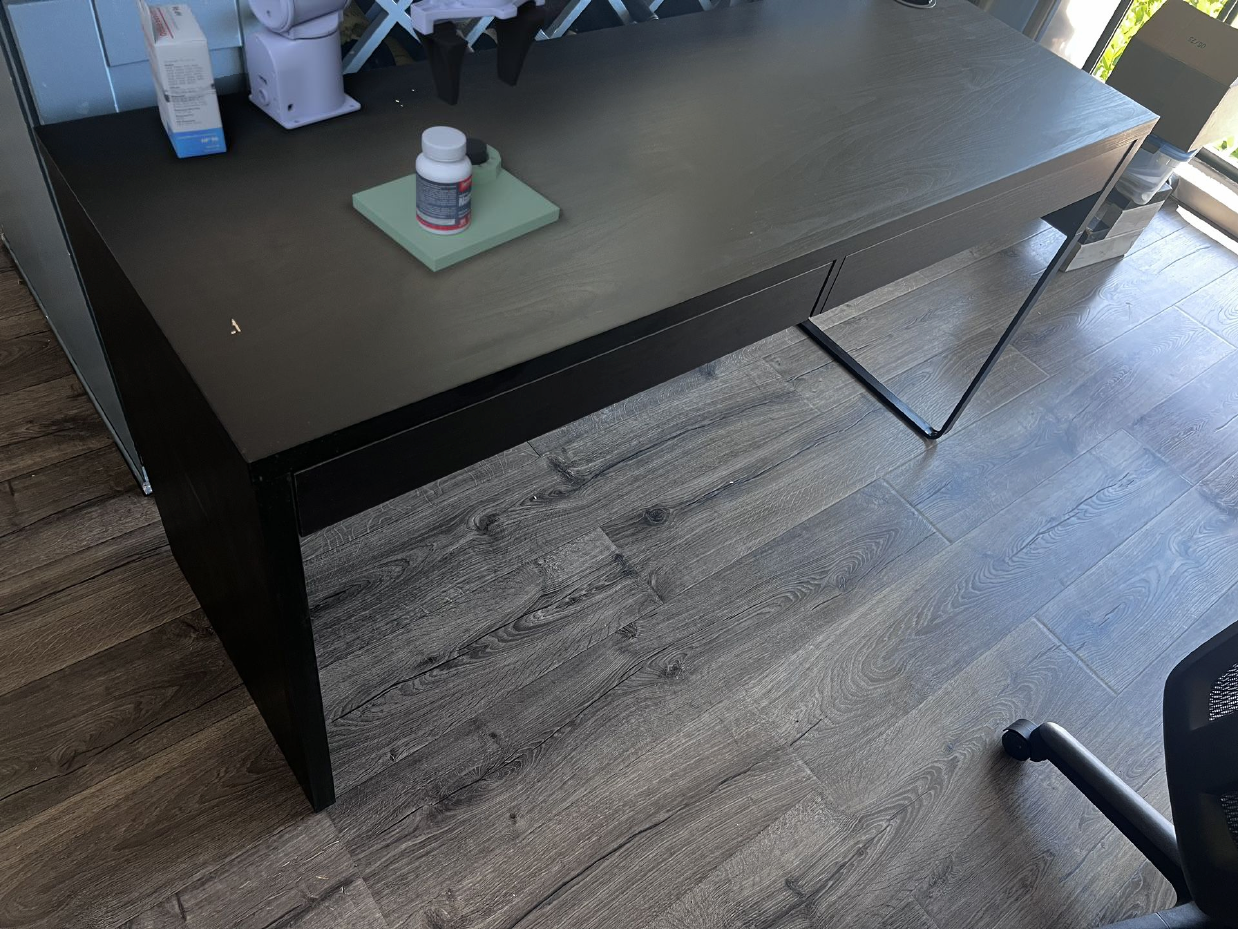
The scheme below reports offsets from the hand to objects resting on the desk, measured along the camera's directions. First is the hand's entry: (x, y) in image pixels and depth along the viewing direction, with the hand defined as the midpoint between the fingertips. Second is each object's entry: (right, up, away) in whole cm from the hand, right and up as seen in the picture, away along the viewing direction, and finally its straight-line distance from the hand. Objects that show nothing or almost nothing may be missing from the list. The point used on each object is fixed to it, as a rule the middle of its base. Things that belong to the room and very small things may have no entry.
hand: (477, 90), depth 92 cm
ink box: (-31, -2, +6) cm, 31 cm away
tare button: (-2, -5, +6) cm, 8 cm away
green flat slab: (-3, -11, +4) cm, 12 cm away
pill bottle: (-3, -13, 0) cm, 13 cm away
